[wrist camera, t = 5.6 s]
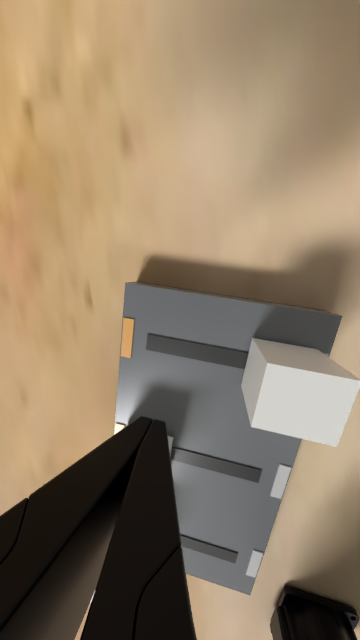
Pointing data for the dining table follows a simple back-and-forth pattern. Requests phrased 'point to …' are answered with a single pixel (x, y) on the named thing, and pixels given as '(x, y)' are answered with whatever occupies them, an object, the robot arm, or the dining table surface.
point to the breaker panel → (213, 415)
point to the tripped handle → (297, 391)
